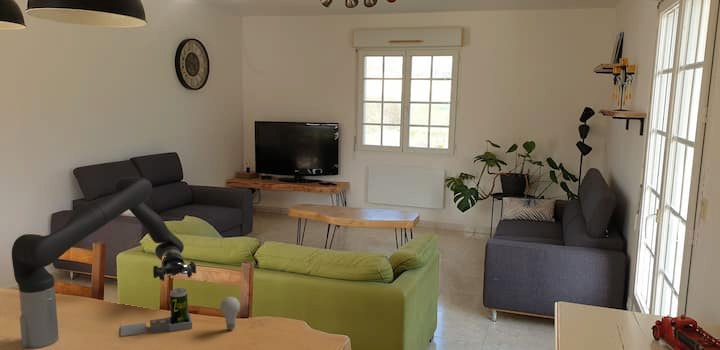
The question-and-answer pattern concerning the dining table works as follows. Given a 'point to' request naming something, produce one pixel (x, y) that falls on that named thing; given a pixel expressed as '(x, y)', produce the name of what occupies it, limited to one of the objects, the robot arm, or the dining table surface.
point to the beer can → (179, 306)
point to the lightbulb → (230, 311)
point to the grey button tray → (169, 325)
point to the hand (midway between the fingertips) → (176, 276)
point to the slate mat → (133, 329)
